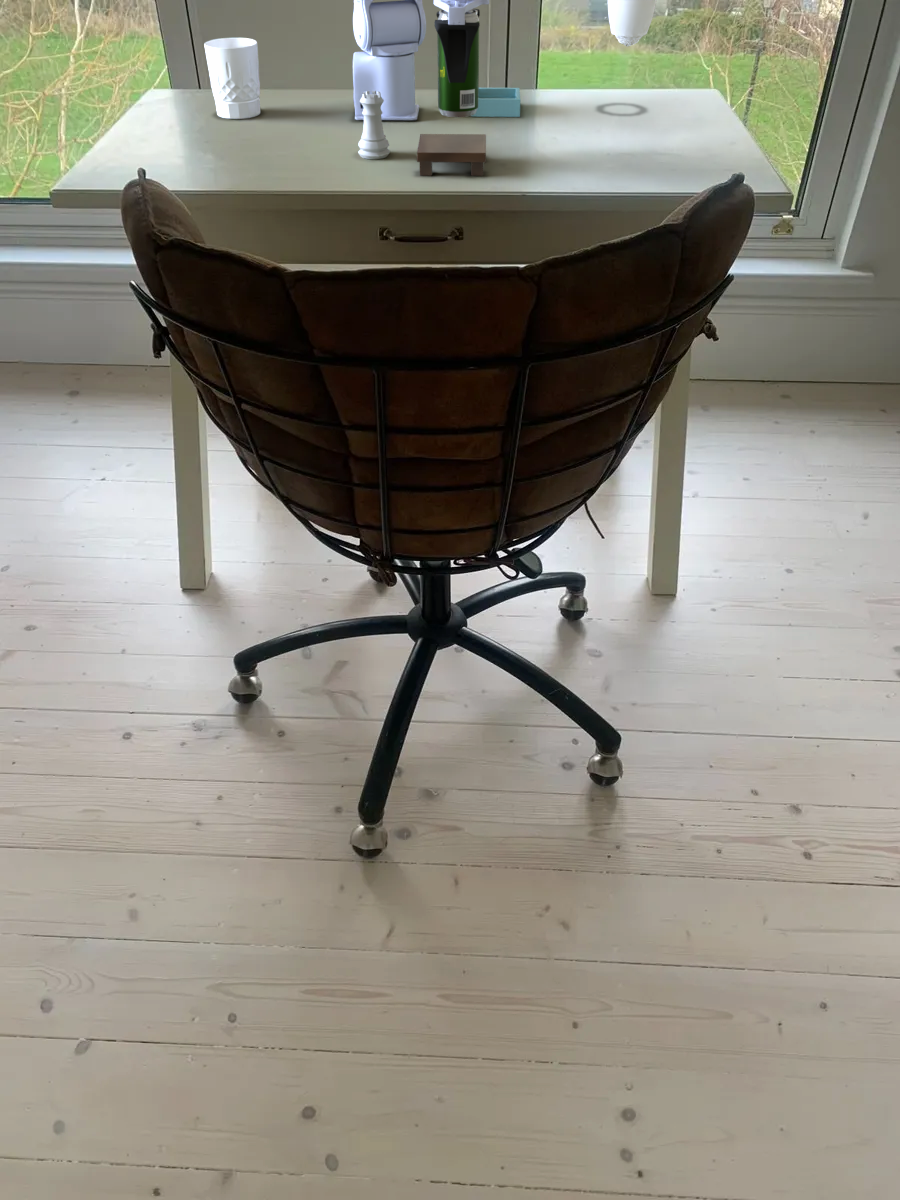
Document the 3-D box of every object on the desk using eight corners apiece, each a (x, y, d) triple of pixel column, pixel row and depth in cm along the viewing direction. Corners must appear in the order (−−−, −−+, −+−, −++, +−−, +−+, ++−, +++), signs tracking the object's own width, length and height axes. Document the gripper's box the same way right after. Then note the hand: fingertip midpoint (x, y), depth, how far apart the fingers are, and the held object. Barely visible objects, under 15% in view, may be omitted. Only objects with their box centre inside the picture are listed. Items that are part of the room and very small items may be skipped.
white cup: (274, 111, 166) (267, 40, 159) (244, 122, 160) (236, 50, 154) (233, 105, 168) (225, 35, 162) (203, 116, 163) (193, 45, 157)
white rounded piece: (654, 110, 165) (671, -43, 152) (619, 117, 162) (633, -39, 149) (624, 101, 170) (637, -49, 157) (589, 107, 167) (600, -45, 154)
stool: (417, 176, 139) (416, 152, 137) (420, 156, 146) (420, 133, 144) (485, 176, 139) (485, 152, 137) (485, 157, 146) (486, 134, 144)
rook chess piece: (394, 158, 145) (392, 95, 140) (363, 161, 144) (359, 98, 139) (384, 149, 149) (382, 88, 144) (354, 152, 147) (350, 90, 143)
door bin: (470, 116, 163) (471, 99, 161) (471, 104, 169) (471, 87, 167) (519, 116, 163) (520, 99, 161) (518, 104, 169) (519, 87, 167)
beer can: (486, 113, 140) (488, 11, 133) (455, 120, 138) (455, 16, 130) (460, 105, 144) (461, 6, 136) (429, 112, 141) (428, 10, 134)
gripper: (490, -36, 124) (488, 90, 132) (489, -52, 135) (487, 65, 144) (430, -36, 124) (432, 89, 132) (435, -52, 135) (436, 64, 144)
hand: (457, 77), depth 138 cm, fingers closed on beer can, 5 cm apart
